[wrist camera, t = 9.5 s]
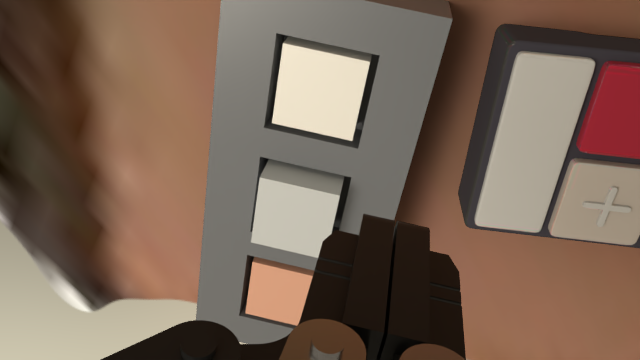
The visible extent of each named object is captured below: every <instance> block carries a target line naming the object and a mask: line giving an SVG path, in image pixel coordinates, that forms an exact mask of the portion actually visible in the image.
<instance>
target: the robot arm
mask: <svg viewBox="0 0 640 360" xmlns="http://www.w3.org/2000/svg"><path fill="white" fill-rule="evenodd" d="M394 225H395V220H390V219H386V218H381V217H377V216H372V215H368V214H363V217H362V221H361V225H360V230H359V234H358V235H356V234H352V233H347V232H343V231H338V230H335V231H334V232H333V233H332V234H331V235H329V236H328V237H327V238H326V239H325V240H324V241H323V242H322V246H321V249H320V253H319V256H318V260H317V263H316V267H315V270H314V274H313V277H312V280H311V284H310V287H309V291H308V294H307V298H306V301H305V305H304V308H303V312H302V315H301V318H300V321H299V323H298V325H297V326H296V327H295V328H294V329H293V330H292V331H291V333H290V334H289V335H287V336H286V337H284V338H282V339H280V340H277V341H274V342H270V343H264V344H243V345H241V344H240V343H239V341H238V339H237V337H236V336H235V335H234V333H233V332H231V331H230V330H229V329H228V328H226V327H225V326H223V325H221V324H218V323H215V322H212V321H205V320H195V321H188V322H184V323H181V324H178V325H176V326H174V327H171V328H169V329H167V330H165V331H163V332H161V333H158V334H156V335H154V336H152V337H150V338H147V339H145V340H143V341H141V342H138V343H136V344H134V345H132V346H130V347H128V348H126V349H123V350H121V351H119V352H117V353H114V354H112V355H110V356H108V357H106V358H103V359H101V360H466V357H465V344H464V331H463V318H462V306H461V292H460V278H459V271H458V269H457V268H456V266H455V265H454V263H453V262H452V260H451V258H450V257H449V255H446V254H441V253H437V252H433V251H430V230H429V228H427V227H423V226H418V225H414V224H409V223H405V222H400V221H397V222H396V225H395V228H394Z"/></svg>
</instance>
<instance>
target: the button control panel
mask: <svg viewBox="0 0 640 360" xmlns="http://www.w3.org/2000/svg"><path fill="white" fill-rule="evenodd" d="M458 195H459V200H460V204H461V209H462V213H463V217H464V221H465V224H466V226H467V227H469V228H474V229H481V230H490V231H499V232H507V233H516V234H524V235H533V236H541V237H550V238H558V239H567V240H575V241H584V242H592V243H601V244H609V245H618V246H626V247H635V248H640V39H633V38H623V37H613V36H602V35H592V34H586V33H582V32H576V31H568V30H559V29H550V28H540V27H531V26H522V25H513V24H503V25H500V26H499V27H498V28H497V30H496V32H495V36H494V40H493V44H492V49H491V53H490V57H489V62H488V66H487V70H486V75H485V79H484V83H483V88H482V92H481V96H480V100H479V105H478V109H477V113H476V118H475V122H474V126H473V131H472V135H471V139H470V144H469V148H468V152H467V157H466V161H465V165H464V170H463V174H462V178H461V183H460V187H459V192H458Z"/></svg>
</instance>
